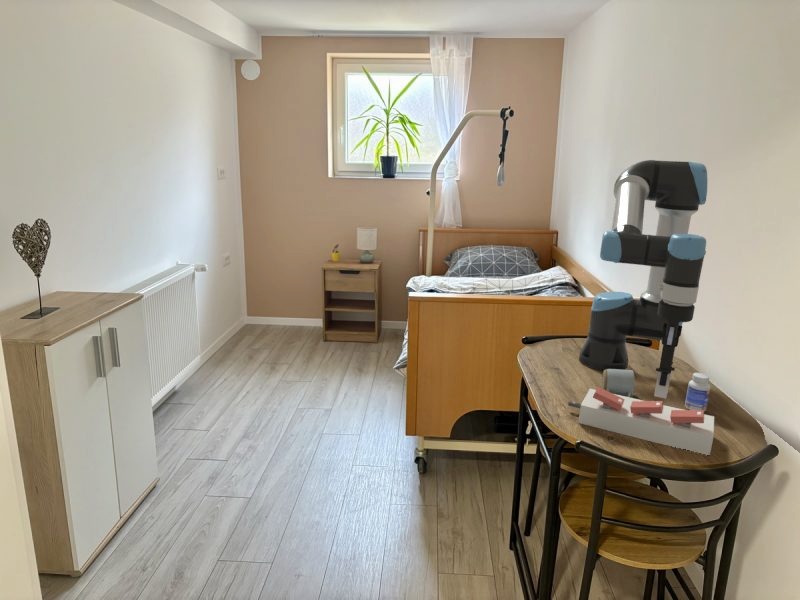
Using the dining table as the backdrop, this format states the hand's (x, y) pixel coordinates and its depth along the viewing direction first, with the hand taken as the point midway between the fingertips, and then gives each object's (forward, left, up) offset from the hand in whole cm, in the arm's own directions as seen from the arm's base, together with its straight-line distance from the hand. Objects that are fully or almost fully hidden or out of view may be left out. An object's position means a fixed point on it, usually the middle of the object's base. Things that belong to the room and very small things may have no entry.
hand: (660, 396), depth 141 cm
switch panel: (-3, -5, -11) cm, 12 cm away
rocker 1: (0, -12, -4) cm, 12 cm away
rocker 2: (0, -3, -4) cm, 4 cm away
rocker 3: (0, +6, -4) cm, 7 cm away
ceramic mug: (-20, -11, -11) cm, 26 cm away
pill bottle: (-24, +8, -11) cm, 28 cm away
